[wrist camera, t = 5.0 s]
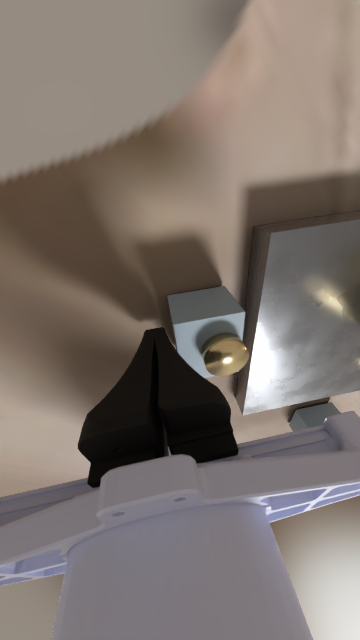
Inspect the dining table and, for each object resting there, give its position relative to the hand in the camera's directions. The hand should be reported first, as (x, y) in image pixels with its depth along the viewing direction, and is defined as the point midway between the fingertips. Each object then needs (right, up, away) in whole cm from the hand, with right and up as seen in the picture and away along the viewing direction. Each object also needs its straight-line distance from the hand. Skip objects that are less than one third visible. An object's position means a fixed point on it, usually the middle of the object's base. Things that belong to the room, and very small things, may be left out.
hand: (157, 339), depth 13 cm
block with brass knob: (+3, +1, +1) cm, 3 cm away
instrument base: (+16, +1, +4) cm, 16 cm away
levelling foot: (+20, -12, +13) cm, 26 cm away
